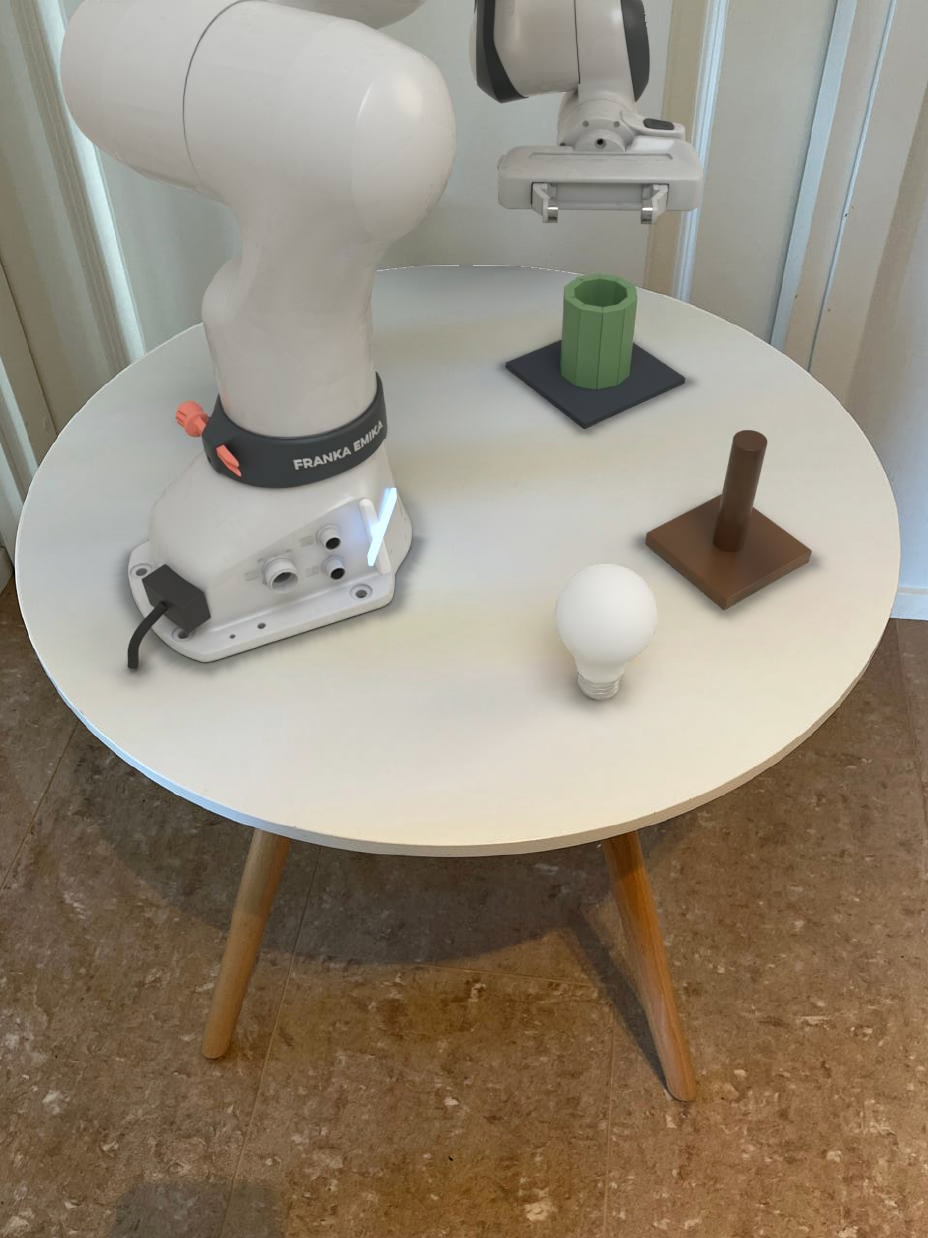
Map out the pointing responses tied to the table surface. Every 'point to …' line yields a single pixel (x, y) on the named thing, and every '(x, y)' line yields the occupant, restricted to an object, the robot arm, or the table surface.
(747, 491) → the peg stand
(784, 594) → the table surface
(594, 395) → the mat
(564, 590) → the light bulb
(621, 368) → the green tube
